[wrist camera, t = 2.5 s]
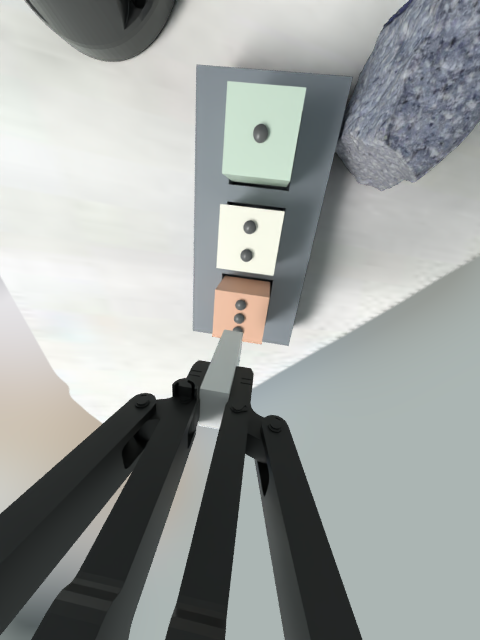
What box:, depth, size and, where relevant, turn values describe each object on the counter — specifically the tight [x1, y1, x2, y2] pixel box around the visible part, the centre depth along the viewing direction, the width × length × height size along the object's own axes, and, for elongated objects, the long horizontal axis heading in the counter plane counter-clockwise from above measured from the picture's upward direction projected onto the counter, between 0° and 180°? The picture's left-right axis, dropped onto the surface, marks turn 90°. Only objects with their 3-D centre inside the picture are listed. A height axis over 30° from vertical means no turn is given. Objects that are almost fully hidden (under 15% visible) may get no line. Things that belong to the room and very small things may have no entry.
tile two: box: [216, 204, 285, 276], centre depth 21 cm, size 5×5×5 cm
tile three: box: [212, 276, 270, 344], centre depth 24 cm, size 5×5×5 cm
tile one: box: [222, 81, 306, 187], centre depth 18 cm, size 5×5×5 cm
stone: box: [335, 0, 480, 191], centre depth 18 cm, size 12×10×10 cm
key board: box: [193, 65, 353, 346], centre depth 25 cm, size 24×12×4 cm, turn 174°
